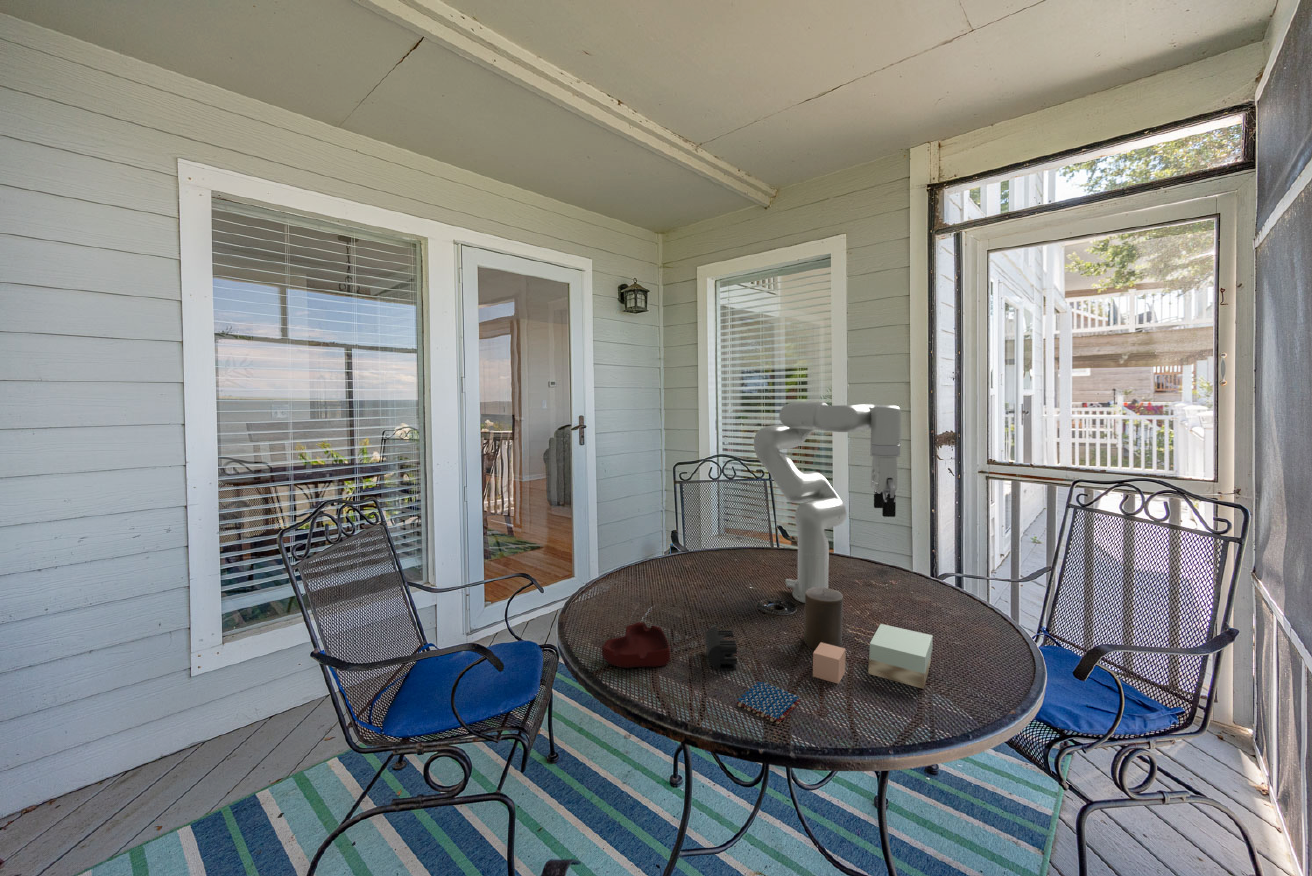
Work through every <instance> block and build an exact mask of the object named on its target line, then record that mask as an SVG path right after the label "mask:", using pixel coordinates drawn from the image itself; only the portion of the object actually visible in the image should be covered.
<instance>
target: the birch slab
mask: <svg viewBox="0 0 1312 876" xmlns="http://www.w3.org/2000/svg"><path fill="white" fill-rule="evenodd" d="M931 658H932V655H931V656H930V659H929V662H928V666H927V669H926V672H925V674H923V673H919V672H916V671H912V670H908V669H904V668H901V667H897V666H893V665H889V664H885V663H882V662H878V661H874V660H870V659H869V658H868V671H867V672H868V674H869V675H872V676H874V677H875V676H877V677H879V678H884V679H887V680H890V681H894V682H897V683H901V684H905V685H909V686H911V687H912V686H913V687H916V688H920V689H923V690H924V689H925V686H926V682H927V678H928V674H929V671H930V669H929V668H930V667H931V665H930V664H931V663H932V662H931V661H932V659H931Z"/></svg>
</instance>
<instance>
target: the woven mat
mask: <svg viewBox="0 0 1312 876" xmlns="http://www.w3.org/2000/svg"><path fill="white" fill-rule="evenodd" d="M799 697H800V696H797V695H796V694H793V693H791V692H790V693H789V692H788V691H786V690H783V689H781V688H780V689H779V688H778V687H776V686H773V685H770V684H767V683H766V682H763V681H761V682H760V681H759V682H756V684H755V685H752V688H749V689H748V691H745V692H744V694H741V697H740V698H737V706H738V707H740V708H741V707H742V708H743V707H744V708H743V709H744V710H747V711H748V712H751V711H752V713H753V714H756V716H757V717H759V716H760V717H761V718H765V719H766V720H769V721H770V722H772V723H774V722H775V721H776V722H775V724H777V725H778V724H780V723H781V721H783V720H785V719H786V717H787V716H789V714H790V712H792V711H793V710H795V709H796V707H797V706H798V705H799V704H800V702H801V700H800V699H799Z"/></svg>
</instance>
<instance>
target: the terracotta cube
mask: <svg viewBox="0 0 1312 876" xmlns="http://www.w3.org/2000/svg"><path fill="white" fill-rule="evenodd" d="M846 653H847V651H846V648H845V647H842V646H841V647H837V646H834V645H830V644H826V643H822V642H820V644H819V645H818V647H817V648H816V650H815V649H814V651H813V653H812V677H813V678H817V679H821V680H824V681H827V682H831V683H835V684H837V685H839V684H840V682H841V680H842V678H843V677H844V675H845V673H846Z"/></svg>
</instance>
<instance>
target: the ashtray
mask: <svg viewBox="0 0 1312 876" xmlns="http://www.w3.org/2000/svg"><path fill="white" fill-rule="evenodd" d="M601 655H602V657H603V659H604V660H605V662H607V663H608V664H610V665H611V666H615V667H619V668H644V667H645V668H646V667H649V668H650V667H651V668H652V667H653V668H654V667H663V666H666V665H667V664H669V663H670V661H671V648H670V644H669V642H668V639H667V637H666V634H665V632H664V631H663V629H662V628H661V627H660V626H657V625H651V626H650V627H648V626H647V625H646V623H645V622H642V621H637V622H635V623H633V624H628V625H627V626H626V627H625V635H624V636H621V637H615V638H610V639H607V640H606V641H605V642H604V644H603V645H602V648H601Z"/></svg>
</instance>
